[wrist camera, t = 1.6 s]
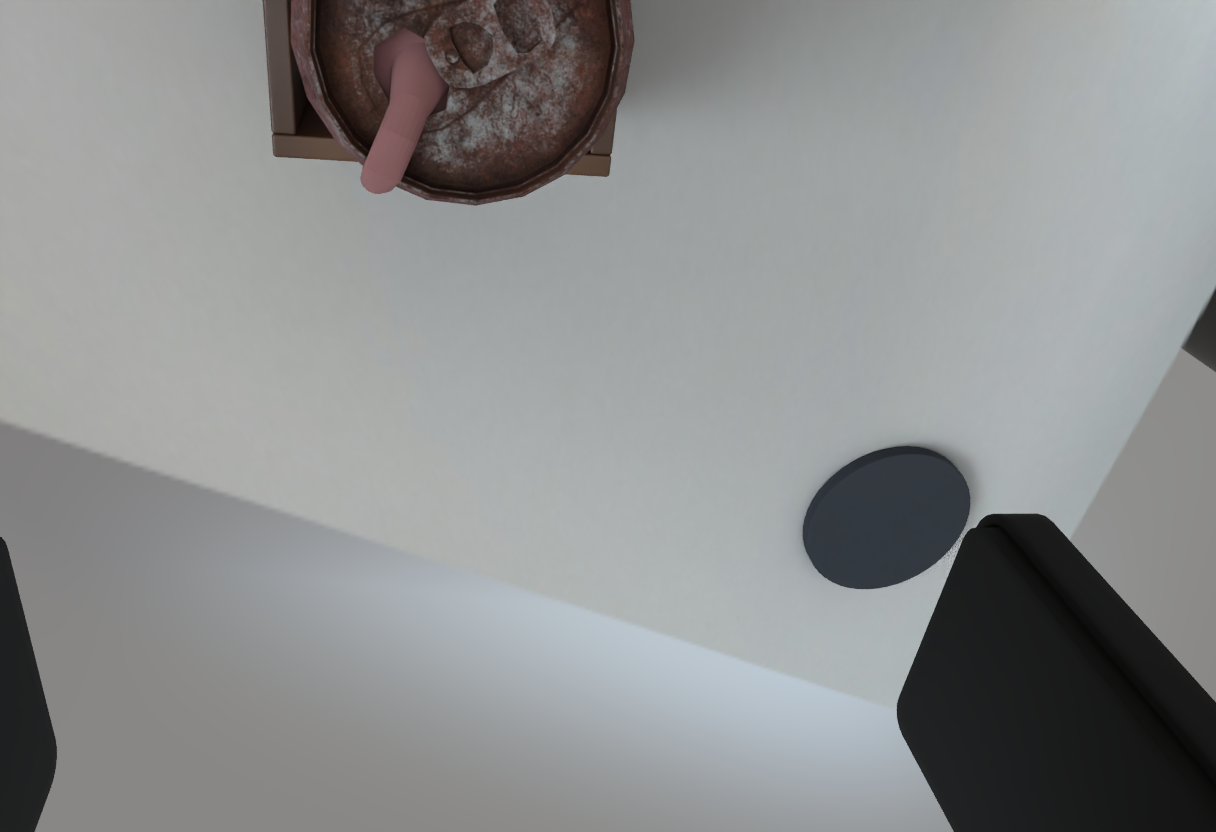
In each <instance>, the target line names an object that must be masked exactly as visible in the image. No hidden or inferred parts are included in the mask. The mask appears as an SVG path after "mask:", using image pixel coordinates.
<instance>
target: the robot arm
mask: <svg viewBox="0 0 1216 832" xmlns="http://www.w3.org/2000/svg"><path fill="white" fill-rule="evenodd" d="M897 719H898V724H899V728H900V730H901V733H902V735H903V737H904V739H905V741H906V743H907V745H908V746H909V748H910V750H911V752H912V754H913V756H914V758H915V760H916V761H917V763H918V765H919V767H920V769H921V771H922V773H923V774H924V776H925V778H926V780H927V782H928V784H929V786H930V788H931V790H932V791H933V793H934V795H935V797H936V799H937V801H938V803H939V804H940V806H941V808H942V810H943V812H944V814H945V816H946V818H947V819H948V822H949V823H950V825H951V827H952V829H953V831H954V832H1216V702H1215V701H1214V700H1213V699H1212V698H1211V697H1210V695H1209V694H1208V693H1207V692H1206V691H1205V690H1204V689H1203V688H1202V687H1201V686H1200V685H1199V683H1198V682H1197V681H1196V680H1195V679H1194V678H1193V677H1192V676H1191V674H1190V673H1188V671H1187V670H1186V669H1185V668H1184V667H1183V666H1182V665H1181V663H1180V662H1179V661H1178V660H1177V659H1176V658H1175V657H1174V656H1173V655H1172V653H1171V652H1170V651H1169V650H1168V649H1167V648H1166V647H1165V646H1164V645H1163V644H1162V642H1161V641H1160V640H1159V639H1158V638H1157V637H1156V636H1155V635H1154V634H1153V633H1152V632H1151V630H1150V629H1149V628H1148V627H1147V626H1146V625H1145V624H1144V623H1143V621H1142V620H1141V619H1140V618H1139V617H1138V616H1137V615H1136V614H1135V613H1134V612H1133V610H1132V609H1131V608H1130V607H1129V606H1128V605H1127V604H1126V603H1125V601H1124V600H1123V599H1122V598H1121V597H1120V596H1119V595H1118V594H1117V593H1116V592H1115V591H1114V589H1113V588H1112V587H1111V586H1110V585H1109V584H1108V583H1107V582H1106V580H1105V579H1103V577H1102V576H1101V575H1100V574H1099V573H1098V572H1097V571H1096V569H1094V567H1093V566H1092V565H1091V564H1090V563H1089V562H1088V561H1087V560H1086V558H1085V557H1084V556H1083V555H1082V554H1081V553H1080V552H1079V551H1078V550H1077V548H1076V547H1075V546H1074V545H1073V544H1072V543H1071V542H1070V541H1069V540H1068V538H1067V537H1066V536H1065V535H1064V534H1063V533H1062V532H1061V531H1060V530H1059V528H1058V527H1057V526H1056V525H1055V524H1054V523H1053V522H1052V521H1051V520H1050V519H1048V518H1047V517H1046V516H1043V515H1040V514H991V515H987V516H985V517H984V518H983V519H982V520H981V521H980V522H979V524H978V526H977V527H976V528H972V529H970V530H969V531H968V532H967V533H966V535H965V537H964V538H963V541H962V543H961V546H960V548H959V551H958V553H957V556H956V558H955V560H954V563H953V565H952V568H951V570H950V573H949V575H948V578H947V580H946V583H945V585H944V588H943V590H942V593H941V595H940V597H939V600H938V602H937V605H936V607H935V610H934V612H933V615H932V617H931V620H930V622H929V625H928V627H927V629H926V632H925V634H924V637H923V639H922V642H921V644H920V647H919V649H918V652H917V654H916V657H915V659H914V662H913V664H912V666H911V669H910V671H909V674H908V676H907V679H906V681H905V684H904V686H903V689H902V691H901V694H900V696H899V699H898V703H897ZM56 760H57V746H56V740H55V736H54V732H53V728H52V724H51V720H50V716H49V712H48V708H47V704H46V699H45V696H44V692H43V688H42V684H41V680H40V675H39V671H38V668H37V664H36V659H35V655H34V651H33V647H32V643H31V640H30V635H29V631H28V627H27V623H26V619H25V615H24V611H23V608H22V604H21V600H20V595H19V592H18V587H17V584H16V579H15V576H14V572H13V568H12V564H11V559H10V556H9V551H8V548H7V545H6V543H5V541H4V540H3V539H2V537H0V832H34V831H35V829H36V826H37V823H38V821H39V818H40V815H41V812H42V810H43V807H44V804H45V802H46V799H47V796H48V794H49V791H50V788H51V785H52V782H53V778H54V774H55V769H56Z"/></svg>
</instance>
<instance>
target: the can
mask: <svg viewBox="0 0 1216 832" xmlns="http://www.w3.org/2000/svg"><path fill="white" fill-rule="evenodd" d="M291 45H292V49H293V52H294V55H295V59H296V62H297V65H298V69H299V72H300V75H301V79H302V82H303V85H304V89H305V92H306V95H307V98H308V100H309V101H310V103H311V104H312V106H313V107H314V109H315V110H316V112H317V113H318V115H319V116H320V118H321V119H322V121H323V122H324V124H325V125H326V127H327V129H328V130H329V132H330V133H331V135H332V136H333V138H334V139H335V141H336V142H337V144H338V145H339V146H340V147H342V148H343V149H344V150H345V151H346V152H348V153H349V154H350V155H351V156H352V157H353V158H355V159H356V160H357V161H358V162H359V163H361V164H362V165H363V169H362V173H361V183H362V185H363V187H364V188H365V189H366V190H368V191H369V192H372V193H375V194H381V193H386V192H389V191H391V190H392V189H393V188H394V187H395V186H396V187H398V188H401V189H403V190H405V191H408V192H410V193H412V194H414V195H417V196H419V197H421V198H424V199H426V200H434V201H442V202H451V203H459V204H468V205H480V204H486V203H491V202H497V201H502V200H507V199H513V198H518V197H523V196H525V195H527V194H529V193H531V192H533V191H535V190H537V189H538V188H540V187H542V186H544V185H546V184H548V183H550V182H552V181H553V180H555V179H557V178H559V177H561V176H563V175H565V174H567V172H568V171H569V170H570V169H571V168H572V167H573V166H574V165H575V164H576V163H577V162H578V161H579V160H580V159H581V158H582V157H583V156H584V155H585V154H586V153H587V152H588V151H589V150H590V149H591V148H592V147H593V146H594V145H595V144H596V143H597V142H598V141H599V140H600V139H601V138H602V136H603V134H604V132H605V130H606V128H607V126H608V124H609V122H610V120H611V118H612V116H613V114H614V113H615V111H616V109H617V107H618V105H619V103H620V101H621V99H622V97H623V95H624V93H625V89H626V83H627V78H628V72H629V67H630V62H631V56H632V51H633V45H634V31H633V22H632V12H631V3H630V0H291Z"/></svg>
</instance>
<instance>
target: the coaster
mask: <svg viewBox="0 0 1216 832" xmlns="http://www.w3.org/2000/svg"><path fill="white" fill-rule="evenodd" d="M969 510H970V494H969V489H968V486H967V483H966V481H965V479H964V477H963V476H962V474H961V473H960V472H959V471H958V469H957V468H956V467H955V466H954V465H953V464H952V463H951V462H950V461H949V460H948V459H947V458H945V457H944V456H942V455H940V454H938V453H936V452H933V451H931V450H928V449H923V448H918V447H895V448H890V449H884V450H881V451H877V452H874V453H871V454H869V455H866V456H864V457H862V458H860V459H858V460H856V461H854V462H852V463H850V464H849V465H847V466H846V467H844V468H843V469H841V470H840V471H839V472H837V473H836V474H835V475H834V476H833V477H832V478H831V479H829V480H828V481H827V482H826V483H825V485H824V486H823V487H822V488H821V489H820V490H819V492H818V493H817V495H816V496H815V498H814V499H813V501H812V503H811V505H810V507H809V509H808V511H807V514H806V517H805V521H804V526H803V540H804V546H805V549H806V552H807V554H808V556H809V558H810V560H811V561H812V563H813V565H814V567H815V568H816V569H817V570H818V572H819V573H820V574H822V575H823V576H824V577H825V578H827V579H828V580H830V581H832V582H834V583H836V584H838V585H841V586H845V587H848V588H855V589H875V588H882V587H887V586H891V585H894V584H898V583H901V582H903V581H906V580H908V579H910V578H912V577H914V576H916V575H918V574H920V573H922V572H923V571H925V570H927V569H928V568H929V567H931V566H932V565H934V564H935V563H936V562H937V561H938V560H940V559H941V558H942V557H943V556H944V555H945V554H946V553H947V552H948V551H949V550H950V549H951V547H952V546H953V545H954V544H955V542H956V541H957V539H958V538H959V536H960V535H961V533H962V531H963V529H964V527H965V524H966V522H967V519H968V515H969Z"/></svg>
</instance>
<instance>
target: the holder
mask: <svg viewBox="0 0 1216 832" xmlns="http://www.w3.org/2000/svg"><path fill="white" fill-rule="evenodd" d="M263 9H264V24H265V39H266V54H267V69H268V84H269V99H270V114H271V129H272V132H273V135H272V144H273V154H274V156H276V157H288V158H305V159H321V160H338V161H354V162H358V161H357V160H356V159H355V158H353V157H352V156H351V155H350V154H349V153H348V152H346V151H345V150H344V149H343V148H342V147H340V146H339V145H338V144H337V142H336V141H335V139H334V138H333V136H332V135H331V133H330V132H329V130H328V129H327V127H326V125H325V124H324V122H323V121H322V119H321V118H320V116H319V115H318V113H317V112H316V110H315V109H314V107H313V106H312V104H311V103H310V101H309V100H308V98H307V95H306V92H305V89H304V85H303V82H302V79H301V75H300V72H299V69H298V65H297V62H296V59H295V55H294V52H293V49H292V45H291V0H263ZM616 113H617V109H616V111H615V113H614V114H613V116H612V118H611V120H610V122H609V124H608V126H607V128H606V130H605V132H604V134H603V136H602V138H601V139H600V140H599V141H598V142H597V143H596V144H595V145H594V146H593V147H592V148H591V149H590V150H589V151H588V152H587V153H586V154H585V155H584V156H583V157H582V158H581V159H580V160H579V161H578V162H577V163H576V164H575V165H574V166H573V167H572V168H571V169H570V170H569V171H568V172H567V174H570V175H587V176H603V177H607V176H609V173H610V164H611V156H610V155H611V153H612V147H613V138H614V130H615V121H616Z"/></svg>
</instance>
